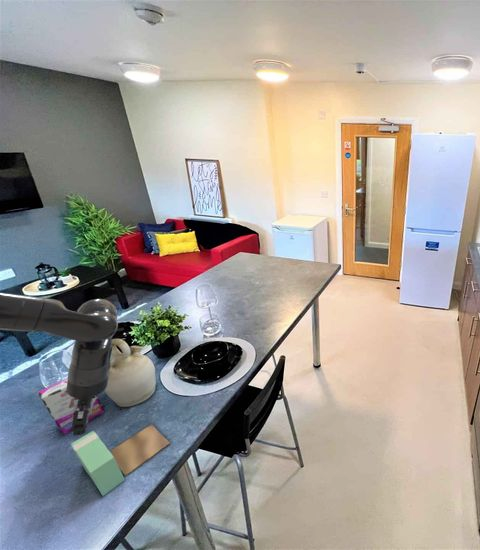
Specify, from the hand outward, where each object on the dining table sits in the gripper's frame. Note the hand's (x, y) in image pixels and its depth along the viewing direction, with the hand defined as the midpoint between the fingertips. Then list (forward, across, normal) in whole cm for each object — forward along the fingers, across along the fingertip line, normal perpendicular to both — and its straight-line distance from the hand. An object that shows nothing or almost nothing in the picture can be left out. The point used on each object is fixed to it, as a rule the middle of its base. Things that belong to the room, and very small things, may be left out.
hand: (82, 419), depth 77 cm
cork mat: (+16, 0, +14) cm, 21 cm away
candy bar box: (+25, -21, -2) cm, 32 cm away
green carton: (+18, +4, +6) cm, 20 cm away
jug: (+20, -26, +12) cm, 35 cm away
